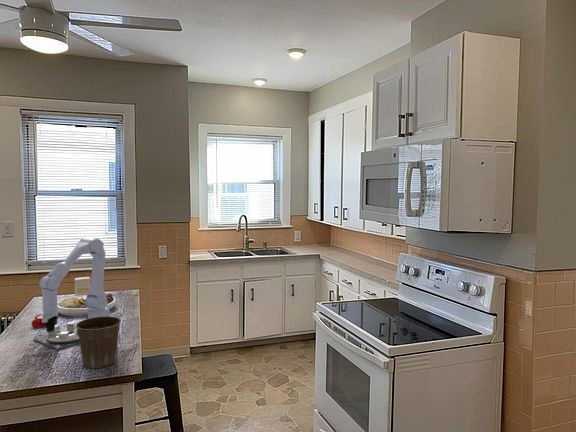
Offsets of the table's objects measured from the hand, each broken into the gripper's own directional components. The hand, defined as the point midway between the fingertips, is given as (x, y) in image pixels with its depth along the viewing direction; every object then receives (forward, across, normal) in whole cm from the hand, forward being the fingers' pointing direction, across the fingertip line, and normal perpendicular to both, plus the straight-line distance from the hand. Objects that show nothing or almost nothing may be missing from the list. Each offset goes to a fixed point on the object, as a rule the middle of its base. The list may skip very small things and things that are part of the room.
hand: (50, 333), depth 194 cm
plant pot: (+3, +28, +26) cm, 39 cm away
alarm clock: (+4, -25, -11) cm, 27 cm away
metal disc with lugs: (+2, -2, +7) cm, 7 cm away
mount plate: (+3, -2, +7) cm, 8 cm away
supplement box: (+4, -73, -6) cm, 73 cm away
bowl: (+4, -50, +2) cm, 50 cm away
